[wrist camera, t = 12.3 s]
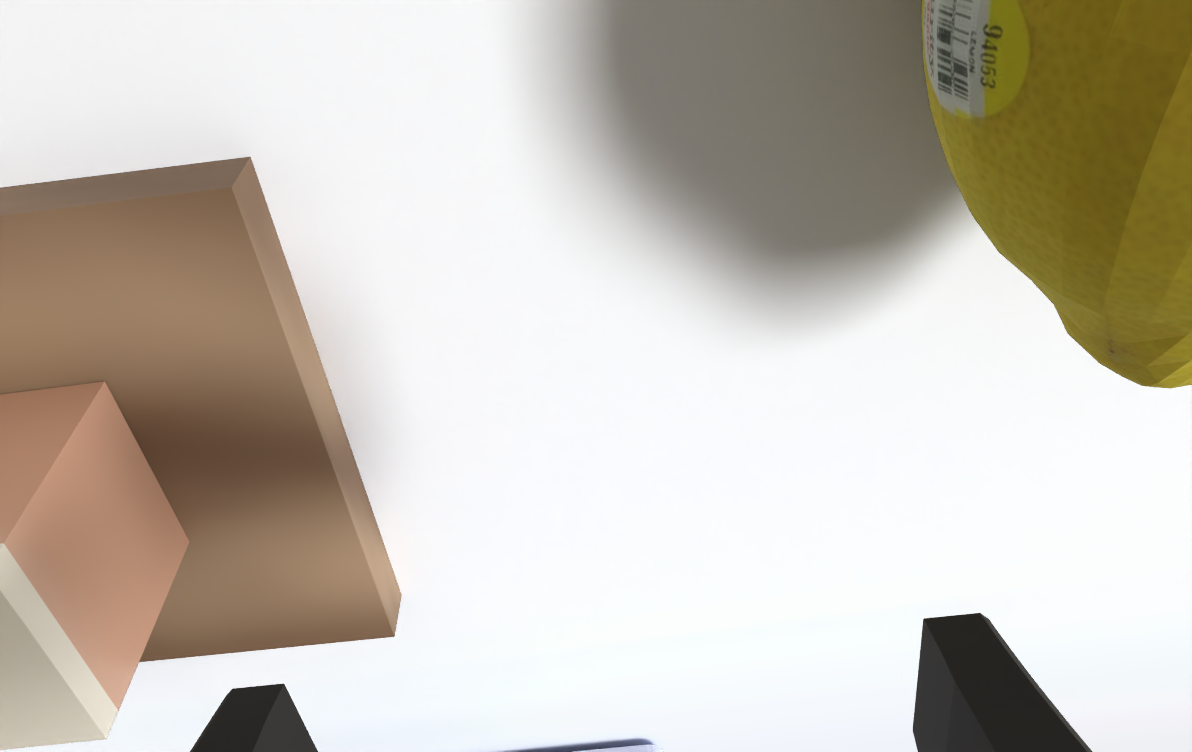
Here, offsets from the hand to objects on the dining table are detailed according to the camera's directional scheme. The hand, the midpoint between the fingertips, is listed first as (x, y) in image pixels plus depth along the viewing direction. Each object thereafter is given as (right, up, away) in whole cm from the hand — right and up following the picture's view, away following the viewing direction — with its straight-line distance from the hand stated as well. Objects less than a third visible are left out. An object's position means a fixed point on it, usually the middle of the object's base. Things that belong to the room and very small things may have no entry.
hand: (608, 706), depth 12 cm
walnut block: (-12, +3, +11) cm, 17 cm away
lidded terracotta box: (-12, +2, +10) cm, 15 cm away
